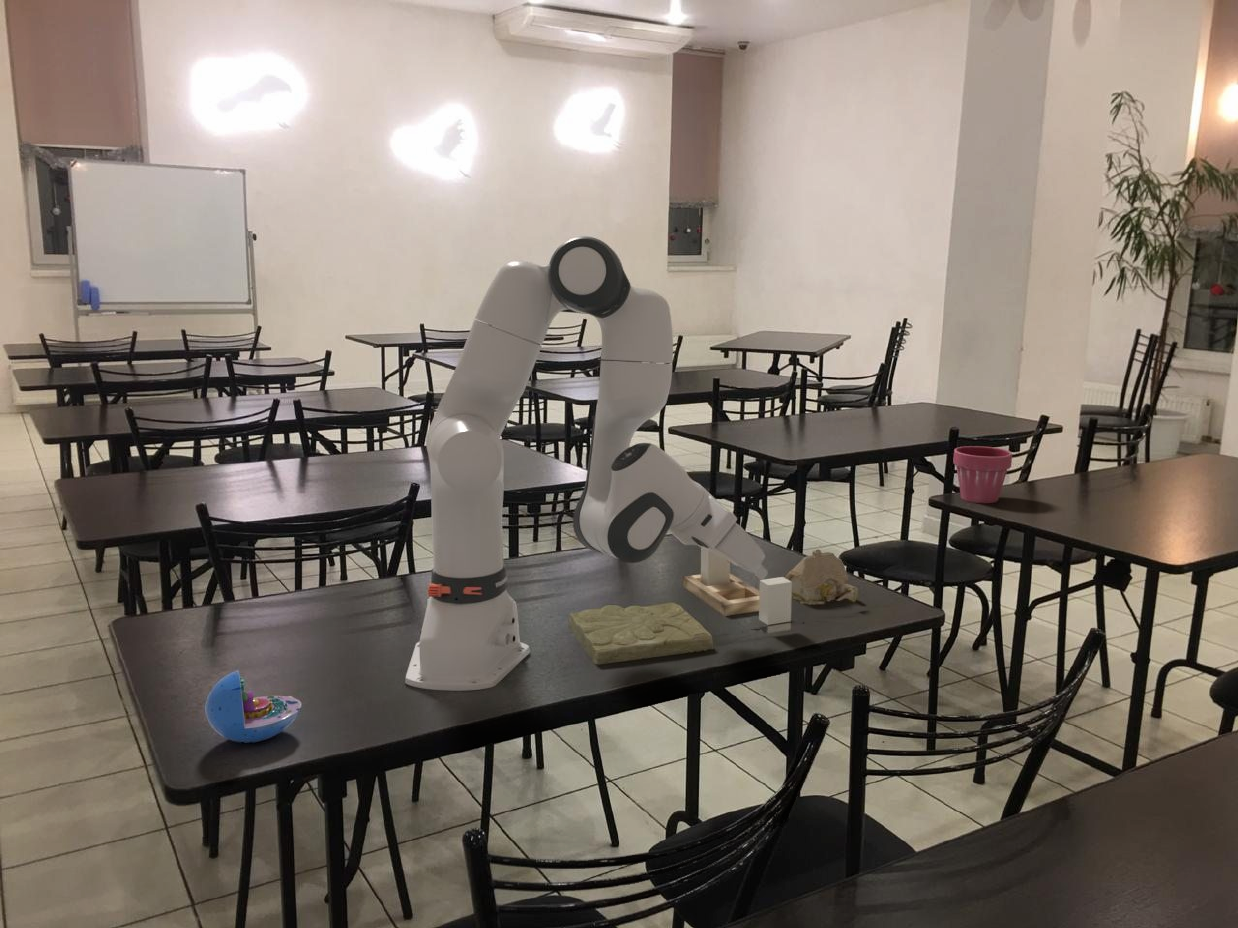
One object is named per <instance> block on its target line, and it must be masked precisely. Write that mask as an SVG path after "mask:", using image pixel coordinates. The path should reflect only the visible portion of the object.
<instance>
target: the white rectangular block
mask: <svg viewBox="0 0 1238 928" xmlns="http://www.w3.org/2000/svg"><path fill="white" fill-rule="evenodd" d="M758 590H759V611H758V620H759V621H761V622H762V623H763V624H766V625H767V626H762V627H761V626H760V627H759V629H761V631H764V632H765V633H766V634H772V633H779V632H785V631H790V630H792V622H791V621H792V598H791V596H792V582H791V581H789V580H788V579H786V577H784V576H781V577H780V576H779V577H773V578H764V579H763V580H760V579H759V589H758Z"/></svg>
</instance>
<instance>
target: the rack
mask: <svg viewBox="0 0 1238 928" xmlns="http://www.w3.org/2000/svg"><path fill="white" fill-rule="evenodd" d="M683 588H684V589H686V590H687V591H688V592H689V593H692V594H693V595H694V596H696V597H697V598H699V599H700V600H702V601H703V602H704V603H706V604H707V605H709V606H710V607H711V608H713V609H714V610H716V611H717V612H719V613H720V614H722V615H723V616H725V617H726V616H733V615H741V614H747V613H753V612H759V589H758V588H755V587H754V586H753V585H751V584H749V583H747V582H745V581H744V580H742V579H741V578H739V577H738V576H736V575H734V574H732V573H731V572H730V583H726V584H719V585H712V586H706V585H704V584H703V583H701V573H700V574H694V575H693V574H692V575H687V576H686V575H685V576H683Z"/></svg>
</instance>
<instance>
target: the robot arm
mask: <svg viewBox="0 0 1238 928" xmlns="http://www.w3.org/2000/svg"><path fill="white" fill-rule="evenodd" d="M560 313H575V314H582V315H583V314H584V315H590V316H592V317H594V318H595V319H596V321H597V322H598V324H599V326H600V329H601V331H600V332H601V353H600V365H599V367H600V370H599V382H598V396H597V402H596V409H595V413H594V418H593V424H592V432H591V439H590V447H589V454H588V463H587V471H586V478H585V483H584V487H583V491H582V492H581V495H580V497H579V499H578V502H577V504H576V505H575V508H574V511H573V512H574V513H573V515H572V526H573V527H572V528H573V532H574V534H575V536H576V538H577V540H578V541H579V542H580V543H581V545H583V547H585V548H587V549H588V550H591V551H594V552H599V553H602V554H605V555H607V556H610V557H612V558H615V559H617V560H620V561H621V562H624V563H629V564H636V563H640V562H643V561H645V560H647V559H649V558H650V557H651V556H653V554H654V553H655V552H657V550H658V548H659V547H660V545H661V544H662V542H663V541H664V538H665V537H666V535H667V533H668V532H670V533H671V534H672V535H673V536H674V537H675V538H677V539H678V541H680V543H681V544H683V545H685V546H698V547H699V548H700V549H701V548H703V549H705V550H707V551H709V552H711V553H713V554H715V555H717V556H719V557H721V558H723V559H725V560H726V561H727V562H728V563H729V564H730V566H737V567H739V568H741V569H742V570H745V571H747V572H749V573H751V574H752V575H754V577H756V578H757V579H759V581H760V580H764V579H766V577H767V576H768V573H769V572H768V570H767V568H765V567H764V566H763V565H762V562H764V560H765V559H766V556H765V553H764V551H763V549H761V547H760V546H759V545H758V544H757V543H756V541H754V539H753V538H752V537H751V536H750V535H749V534H748V533H747V531H745V529H744V528H743V527H742V526H741V525H740V524H739V523H737V520H738V517H737V516H736V515H735V514H734V513H733V512H731V510H729V509H727V508H726V507H725V506H723V505H722V504H721V503H720V502H719V501H718V500H717V499H716V498H715V497H714V496H713V495H712V494H711V493H710V492H709V491H707V489H706V488H705V487H704V486H702V484H700V483H699V482H696V481H695V480H693V479H692V478H691V477H690V476H689V474H688V473H687V471H686V469H685V468H684V467H683V466H682V465H680V463H678V462H677V460H676V459H674V458H673V457H672V456H671V455H669V454H668V453H667V452H666V451H664V450H663V449H662V448H660V447H659V446H657V445H655V444H653V443H650V442H639V443H635V444H634V445H631V446H630V444H631V443H632V442H631V441H632V439H633V437H634V435H635V433H636V431H637V430H638V429H639V428H640V427H641V426H642V425H643V424H644V423H646V422H647V421H649V420H651V419H652V418H653V417H655V416H656V415H657V414H659V413H660V412H661V410H662V409H663V408H664V407H665V405H666V404H667V402H668V397H669V395H670V389H671V386H672V385H671V384H672V375H673V359H674V343H673V342H674V337H673V336H674V335H673V323H672V322H673V321H672V315H671V309H670V306H669V303H668V301H667V300H666V299H665V297H664V296H663V295H661V294H660V293H658V292H655V291H653V290H651V289H647V288H641V287H634V286H631V283H630V281H629V279H628V276H627V275H626V273H625V270H624V267H623V265H622V260H621V259H620V257H619V256H618V254H617V253H616V251H615V250H613V249H612V248H611V247H610V246H609V245H608V244H607V243H605V242H604V241H603V240H601V239H599V238H596V237H592V236H586V235H585V236H583V235H582V236H576V237H572V238H569V239H568V240H566V241H564V242H563V243H562V244H561V245H559V246H558V247H557V248H556V250H555V251H554V252H553V254H552V256H551V257H550V260H549V263H548V264H545V265H539V264H536V263H533V262H531V261H530V262H529V261H523V260H516V261H509V262H508V263H506V264H504V265H503V266H502V267H500V269H499V270H498V272H497V274H496V275H495V276H494V279H493V280H492V282H491V284H490V285H489V287H488V289H487V291H486V292H485V295H484V297H483V299H482V301H481V303H480V305H479V308H478V310H477V313H476V315H475V318H474V319H473V323H472V325H471V328H470V330H469V333H468V335H467V339H466V341H465V343H464V346H463V348H462V351H461V354H460V356H459V358H458V359H459V360H458V362H457V365H456V367H455V369H454V371H453V374H452V376H451V378H450V381H449V382H448V383H447V386H446V388H445V391H444V392H443V395H442V397H441V400H440V401H439V403H438V406H437V409H436V411H435V414H434V416H433V418H432V421H431V422H430V426H429V428H428V430H427V432H426V433H427V434H426V438H425V445H426V451H427V454H428V460H429V468H430V492H431V493H430V494H431V495H430V497H431V498H430V501H431V518H430V519H431V537H432V538H431V539H432V555H433V556H432V558H433V559H432V561H433V567H432V569H431V571H430V572H431V575H430V579H429V584H428V586H427V587H428V588H427V595H428V597H429V598H428V599H427V600H426V604H427V605H426V608H425V613H424V618H423V621H422V628H421V630H420V637H419V641H418V642H416V643H415V645H414V649H413V652H412V654H411V655H412V656H411V659H410V661H409V665H408V667H407V671H406V674H405V680H404V683H405V684H406V685H408V686H411V687H414V688H419V689H424V690H434V691H452V692H453V691H456V692H457V691H458V692H459V691H475V690H476V691H477V690H484V689H490V688H493V687H495V686H496V685H497V684H499V683H500V682H501V680H503V679H504V678H505V677H506V676H508V674H509V673H511V671H512V670H513V669H514V668H516V666H518V665H519V663H521V662H522V661H523V660H524V659H525V658H526V657H527V656H528V655H529V654H530V653H531V651H530V646H529V645H528V644H526V643H525V642H521V640H520V639H521V638H520V626H519V615H518V614H519V613H518V603H517V602H516V601H515V600H514V599H513V598H512V597H511V595H509V593H508V591H507V588H508V572H507V567H506V565H505V564H504V544H503V542H504V540H503V539H504V538H503V505H504V504H503V503H504V502H503V501H504V487H505V486H504V483H505V482H504V481H505V480H504V475H505V473H504V471H505V470H504V469H505V468H504V467H505V465H504V464H505V461H504V460H505V457H504V456H505V455H504V454H505V453H504V451H505V450H504V446H503V442H502V441H501V436H502V433H503V431H504V430H505V427H506V425H507V423H508V421H509V419H510V417H511V415H512V413H513V411H514V409H515V407H516V406H517V404H518V402H519V401H520V398H521V397H522V396H523V395H524V392H525V390H526V388H527V384H528V383H529V380H530V377H531V375H532V372H533V371H534V368H535V364H536V363H537V359H538V357H539V353H540V351H541V350H542V347H543V346H542V345H544V340H545V339H546V336H547V332H548V331H549V328H550V326H551V324H552V322H553V320H554V319H555V318H556V316H557V315H558V314H560Z"/></svg>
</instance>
